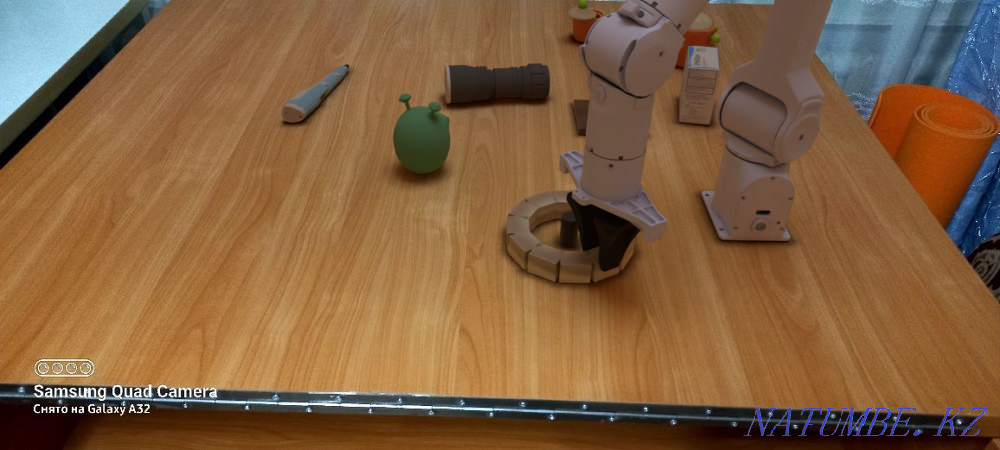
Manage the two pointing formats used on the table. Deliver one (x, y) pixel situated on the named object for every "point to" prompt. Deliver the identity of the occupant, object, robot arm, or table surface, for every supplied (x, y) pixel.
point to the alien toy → (421, 137)
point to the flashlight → (495, 82)
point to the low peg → (568, 230)
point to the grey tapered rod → (312, 96)
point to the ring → (545, 257)
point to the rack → (581, 115)
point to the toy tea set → (694, 36)
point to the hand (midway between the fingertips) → (600, 259)
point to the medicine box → (699, 85)
